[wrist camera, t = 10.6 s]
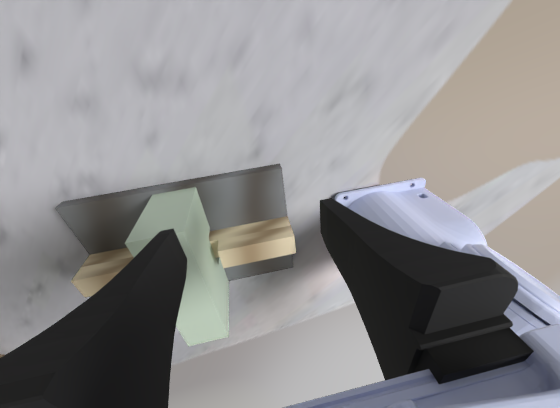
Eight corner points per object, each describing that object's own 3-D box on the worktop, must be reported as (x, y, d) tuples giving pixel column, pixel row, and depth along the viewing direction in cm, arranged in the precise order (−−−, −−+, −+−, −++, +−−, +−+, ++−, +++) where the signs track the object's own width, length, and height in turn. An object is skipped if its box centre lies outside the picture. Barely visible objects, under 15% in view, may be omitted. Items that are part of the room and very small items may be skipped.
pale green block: (229, 283, 26) (228, 336, 21) (196, 290, 26) (188, 346, 21) (195, 186, 20) (183, 231, 15) (152, 194, 19) (124, 243, 14)
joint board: (279, 163, 21) (288, 184, 18) (291, 260, 27) (299, 289, 24) (62, 201, 19) (27, 231, 16) (129, 295, 26) (114, 330, 23)
